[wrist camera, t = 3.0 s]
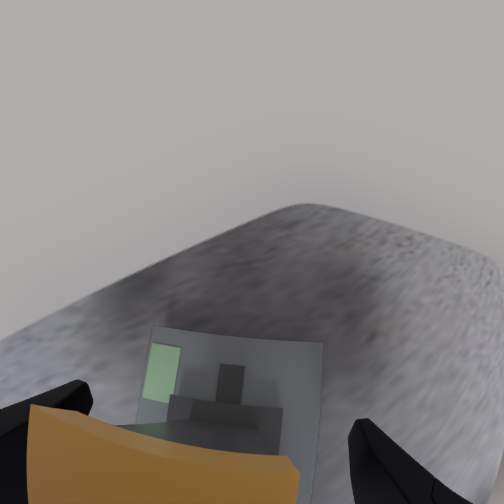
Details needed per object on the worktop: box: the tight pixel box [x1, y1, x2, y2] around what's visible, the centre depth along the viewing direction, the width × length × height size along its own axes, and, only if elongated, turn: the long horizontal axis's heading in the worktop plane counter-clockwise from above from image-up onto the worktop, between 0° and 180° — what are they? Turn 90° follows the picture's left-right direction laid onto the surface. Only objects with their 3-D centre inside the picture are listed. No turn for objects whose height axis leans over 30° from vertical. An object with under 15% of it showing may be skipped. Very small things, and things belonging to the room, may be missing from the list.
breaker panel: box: [136, 325, 323, 504], centre depth 12 cm, size 11×9×2 cm
